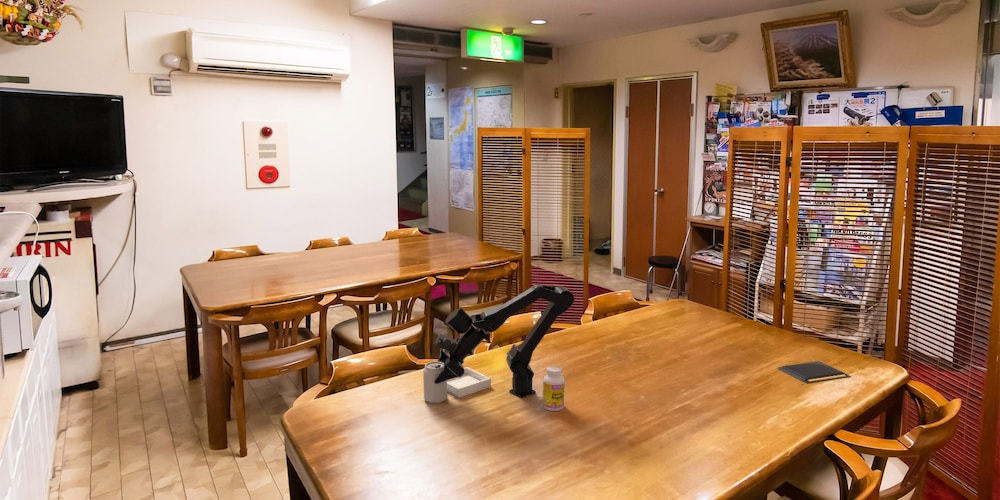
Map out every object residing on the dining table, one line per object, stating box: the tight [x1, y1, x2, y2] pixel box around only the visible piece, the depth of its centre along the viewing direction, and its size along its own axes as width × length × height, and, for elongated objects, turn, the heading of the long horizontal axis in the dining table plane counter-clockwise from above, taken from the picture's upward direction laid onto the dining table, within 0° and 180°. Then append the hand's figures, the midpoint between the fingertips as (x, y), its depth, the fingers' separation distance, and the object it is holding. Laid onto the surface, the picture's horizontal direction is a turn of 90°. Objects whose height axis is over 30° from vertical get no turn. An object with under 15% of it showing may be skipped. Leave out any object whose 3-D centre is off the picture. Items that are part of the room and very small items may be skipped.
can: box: [422, 360, 448, 404], centre depth 197 cm, size 8×8×12 cm
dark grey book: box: [777, 360, 852, 385], centre depth 219 cm, size 20×2×15 cm
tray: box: [447, 366, 492, 399], centre depth 209 cm, size 14×14×3 cm
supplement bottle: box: [542, 365, 566, 412], centre depth 192 cm, size 7×7×13 cm
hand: (434, 377), depth 197 cm, fingers open, 9 cm apart
